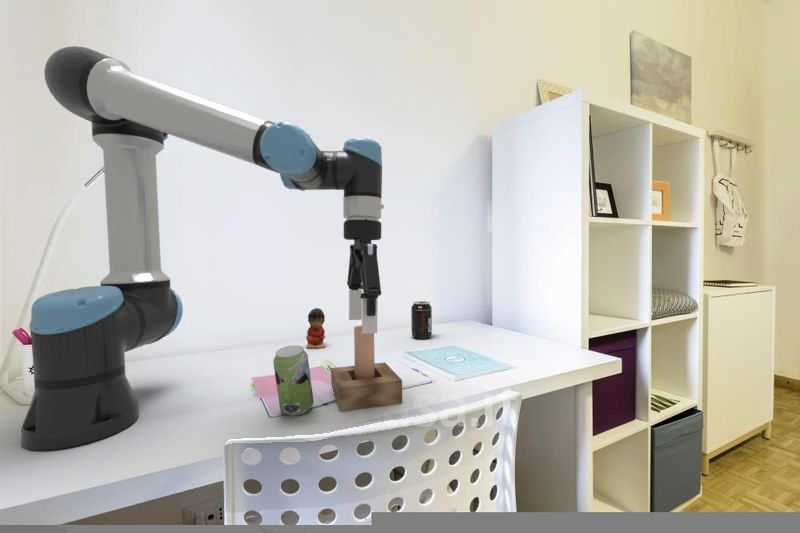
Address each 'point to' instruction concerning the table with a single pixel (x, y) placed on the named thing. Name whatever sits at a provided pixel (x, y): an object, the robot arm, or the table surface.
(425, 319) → the beverage can
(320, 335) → the figurine
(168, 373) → the table surface
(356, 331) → the dowel
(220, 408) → the table surface
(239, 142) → the robot arm
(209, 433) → the table surface
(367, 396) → the socket block
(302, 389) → the beverage can
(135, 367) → the table surface
